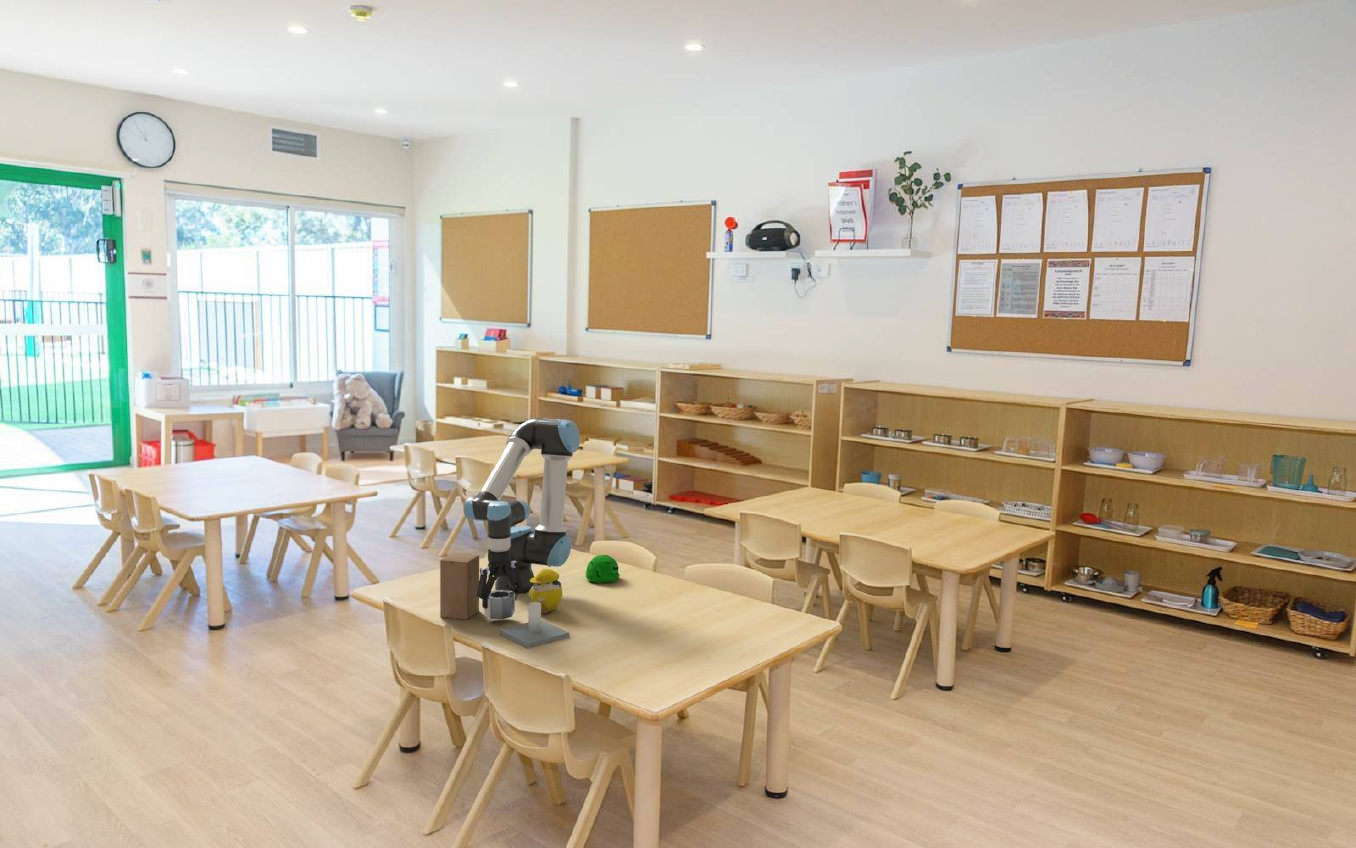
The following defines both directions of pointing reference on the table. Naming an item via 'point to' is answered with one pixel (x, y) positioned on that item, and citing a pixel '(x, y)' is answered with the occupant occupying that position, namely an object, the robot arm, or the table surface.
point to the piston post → (534, 630)
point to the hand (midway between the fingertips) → (499, 613)
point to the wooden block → (459, 586)
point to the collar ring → (501, 604)
